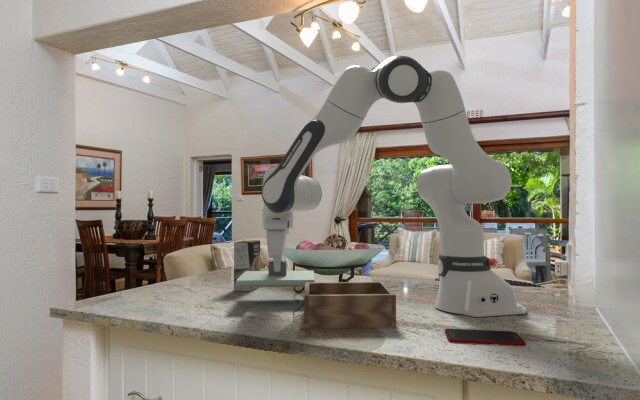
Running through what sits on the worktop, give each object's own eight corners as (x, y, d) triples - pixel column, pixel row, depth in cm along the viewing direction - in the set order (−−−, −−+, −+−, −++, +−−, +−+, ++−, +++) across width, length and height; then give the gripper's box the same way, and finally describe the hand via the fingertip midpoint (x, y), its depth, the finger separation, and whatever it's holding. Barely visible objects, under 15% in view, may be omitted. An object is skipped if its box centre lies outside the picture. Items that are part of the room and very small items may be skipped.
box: (383, 313, 106) (383, 281, 106) (396, 331, 90) (395, 294, 90) (305, 313, 105) (305, 282, 105) (304, 332, 89) (304, 295, 89)
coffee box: (251, 291, 134) (251, 242, 134) (233, 291, 135) (233, 241, 135) (261, 286, 143) (261, 239, 143) (243, 285, 144) (243, 239, 144)
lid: (313, 277, 128) (313, 257, 128) (314, 288, 111) (314, 264, 111) (245, 278, 127) (245, 258, 127) (235, 288, 110) (235, 265, 110)
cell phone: (443, 332, 90) (443, 328, 90) (515, 335, 88) (515, 331, 88) (448, 344, 83) (448, 339, 83) (527, 348, 80) (527, 343, 80)
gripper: (270, 221, 129) (270, 265, 129) (263, 223, 109) (263, 275, 109) (290, 221, 130) (290, 265, 129) (287, 223, 109) (287, 275, 109)
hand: (277, 270), depth 119 cm, fingers closed on lid, 2 cm apart
